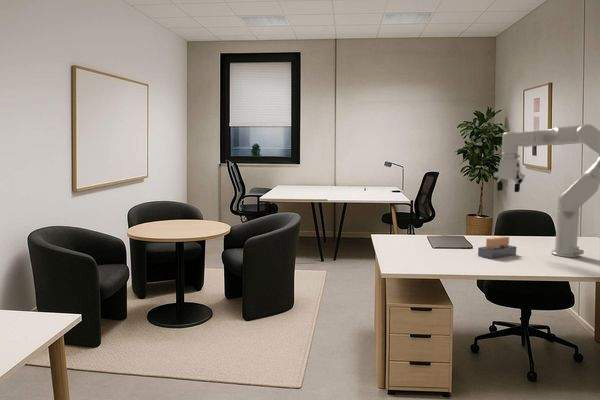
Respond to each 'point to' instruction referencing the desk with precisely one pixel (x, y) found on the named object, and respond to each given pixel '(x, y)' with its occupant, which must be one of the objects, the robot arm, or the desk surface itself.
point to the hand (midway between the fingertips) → (508, 191)
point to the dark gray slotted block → (496, 252)
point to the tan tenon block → (497, 242)
